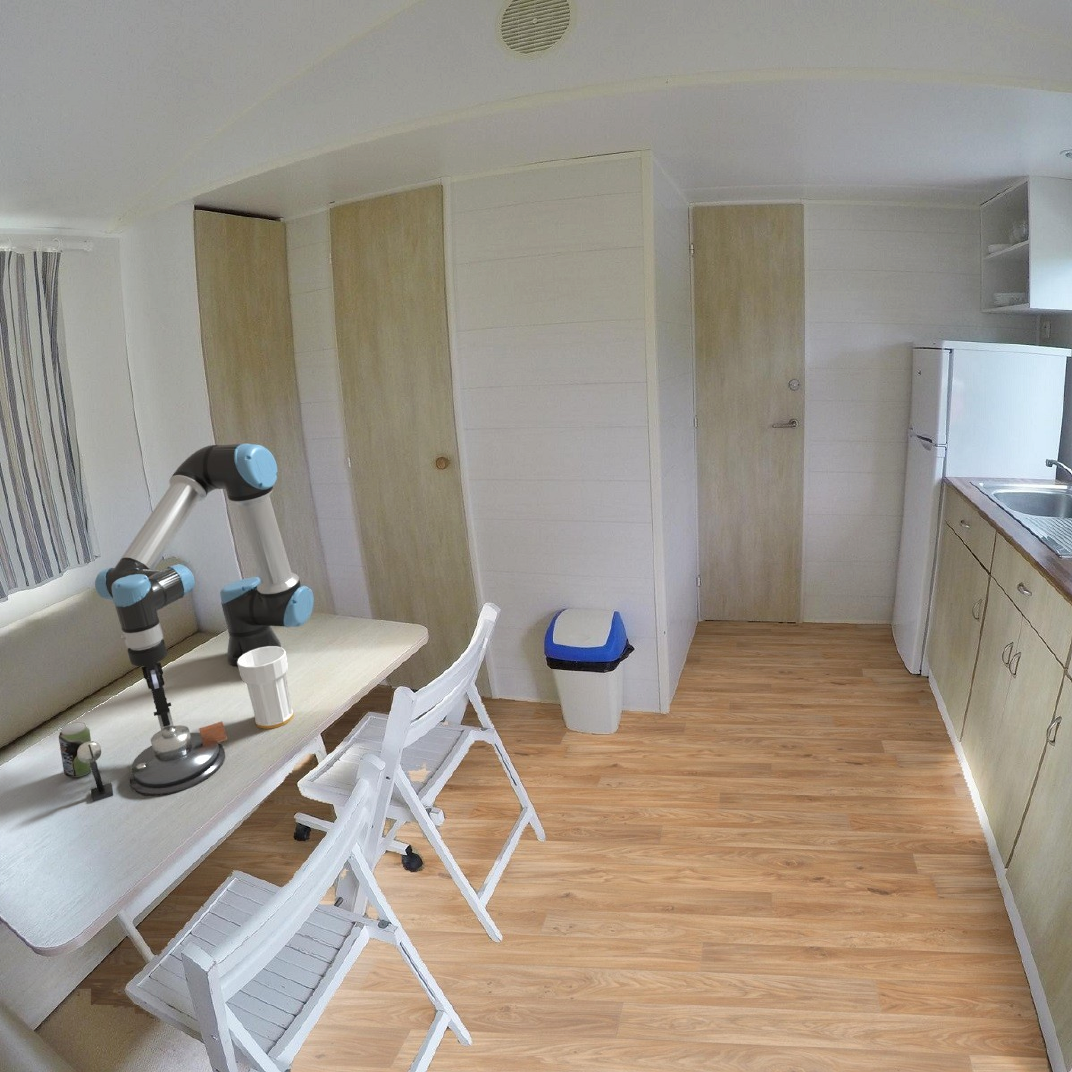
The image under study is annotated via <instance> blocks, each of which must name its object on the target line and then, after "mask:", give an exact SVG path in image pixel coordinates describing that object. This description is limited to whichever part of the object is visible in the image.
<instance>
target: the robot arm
mask: <svg viewBox="0 0 1072 1072" xmlns="http://www.w3.org/2000/svg"><path fill="white" fill-rule="evenodd" d="M278 471H279V470H278V465H277V462H276V459H275V457H274V455H273V454H272V453H271V451H270V450H269V449H267V448H266V447H264V446H263V445H261V444H251V443H237V444H234V443H233V444H212V445H211V444H210V445H207V446H204V447H202V448H200V449H198V450H196V451H194V452H193V453H192V454H191V455H189V456H188V457H187V458H186V459H185V460H184V461H183V462H182V463H181V464H180V465H179V466H178V468H177V469H176V470H175V471H174V472H173V474H172V475H171V476H170V478H169V481H168V483H169V487H168V489H167V490H166V491H165V493H164V495H163V496H162V497H161V499H160V501H159V502H158V504H157V505H156V506H155V508H154V509H153V511H152V512H151V513H150V516H149V517H148V518H147V519H146V521H145V523H144V524H143V526H142V527H141V528H140V530H139V531H138V532H137V534H136V536H135V537H134V539H133V540H132V542H131V543H130V544H129V547H128V548H127V549H126V550H125V552H124V554H123V555H122V556H121V557H120V559H119V561H118V562H117V563H116V565H115V566H114V567H109V568H105V569H103V570H101V571H100V572H98V574H97V575H96V578H95V582H94V588H95V591H96V593H97V594H98V595H99V597H100V598H102V599H105V600H108V601H113V604H114V607H115V610H116V614H117V617H118V621H119V624H120V627H121V631H122V634H121V635H120V639H121V640H124V642H125V647H126V648H127V654H128V657H129V661H130V664H131V665H132V666H135V667H141V670H142V675H143V679H144V680H145V681H146V685H147V688H148V689H149V690H150V692H151V694H152V698H153V703H154V707H155V710H156V711H154V712H153V716H154V717H156V716H157V720H158V723H159V727H160V731H161V730H162V729H163V728H165V727H167V726H175V725H174V721H173V718H172V714H171V710H170V707H172V702H170V701H169V702H167V700H168V699H167V697H166V692H165V690H164V689H165V688H164V686H165V685H166V684H165V679H164V676H163V675H164V671H163V667H162V664H161V661H163V660H164V659H165V658H166V657H167V655H168V652H167V648H166V647H167V646H166V643H165V639H164V633H163V629H162V627H161V626H162V625H161V622H160V619H159V614H158V611H159V610H161V609H163V608H165V607H167V606H168V605H170V604H172V603H174V602H176V601H179V600H180V599H183V598H184V597H185V596H186V595H188V594H189V593H191V592H192V591H193V590H194V588H195V584H196V582H195V576H194V574H193V572H192V571H191V570H190V569H189V568H188V567H187V566H186V565H183V564H178V563H177V564H174V565H170V566H167V567H165V569H155V568H156V567H157V565H159V562H160V561H161V559H162V557H163V556H164V555H165V553H166V551H167V549H168V548H169V547H170V545H171V544H172V542H173V541H174V539H175V538H176V536H177V534H178V532H179V531H180V530H181V528H182V527H183V525H184V523H185V522H186V520H187V519H188V518H189V516H190V514H191V513H192V512H193V510H194V509H195V506H196V505H197V503H198V502H202V501H203V500H205V498H206V497H207V496H208V494H210V493H211V492H212V491H214V490H225V492H226V495H227V498H228V501H230V502H231V503H234V504H236V507H237V510H238V512H239V517H240V520H241V522H242V526H243V529H244V532H245V536H246V539H247V542H248V546H249V548H250V551H251V554H252V558H253V561H254V564H255V567H256V571H257V574H258V577H257V576H252V577H247V578H246V577H245V578H242V579H240V580H239V579H238V580H236V581H233V582H231V583H229V584H227V585H226V586H224V587H223V588H221V590H220V593H219V596H220V603H221V607H222V611H223V615H224V619H225V625H226V627H227V628H226V629H227V632H228V644H227V651H226V657H227V661H228V664H229V665H231V666H234V667H238V665H237V661H238V659H239V658H240V657H241V656H242V655H243V654H245V653H247V652H249V651H251V650H254V649H257V648H261V647H267V646H277V647H281V648H282V646H281V645H282V644H281V641H280V639H279V638H278V636H277V635H276V633H275V631H274V630H273V628H272V627H284V628H286V629H287V628H289V629H290V628H297V627H302V626H304V625H305V624H306V623H307V621H308V620H309V619H310V617H311V614H312V612H313V609H314V602H315V600H314V594H313V593H314V592H313V591H312V589H311V588H309V587H308V586H306V585H302V584H301V581H300V577H299V575H298V574H296V573H294V572H292V569H291V566H290V562H289V559H288V555H287V552H286V549H285V546H284V541H283V537H282V535H281V531H280V528H279V524H278V520H277V518H276V514H275V511H274V507H273V504H272V501H271V500H272V499H271V497H270V496H271V494H272V492H273V491H274V485H275V484H276V482H277V480H278V475H277V474H278V473H279V472H278Z"/></svg>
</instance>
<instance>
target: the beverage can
mask: <svg viewBox="0 0 1072 1072" xmlns="http://www.w3.org/2000/svg"><path fill="white" fill-rule="evenodd" d="M90 731H91V730H90V728H89V727H88V726H87V724H86V723H84V722H82V721H81V722H80V721H79V722H78V721H77V722H76V721H75V722H70V723H67V724H66V725H63V726H62V727H61V729H60V732H59V735H58V741H59V749H60V755H61V761H62V762H61V763H62V768H63V773H64V775H65V776H68V777H70V778H81V777H83V776H86V775H87V774H89V773H90V772H92V769H91V766H90V763H83V762H81V761H80V760H79V759H78V756H77V751H78V748H79V747H80V746H81V745H82V744H83V743H85V742H89V741H92V739H91V738H92V737H91V732H90Z"/></svg>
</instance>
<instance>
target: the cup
mask: <svg viewBox="0 0 1072 1072" xmlns="http://www.w3.org/2000/svg"><path fill="white" fill-rule="evenodd" d="M237 665H238V666H237V668H238V671H239V675H240V676H239V677H240V679H241V680H242V682H243V683H245V684H246V686H247V691H248V694H249V698H250V702H251V706H252V710H253V714H254V717H255V719H254V720H255V721H254V722H255V725H256V727H257V728H260V729H265V730H266V729H267V730H271V729H276V728H280V727H282V726H285V725H286V724H287V723H289V722H290V721H291V720H292V719H293V718H294V710H293V708H292V703H291V698H290V692H289V685H288V679H287V673H288V669H289V664H288V659H287V652H286V649H284V648H283V647H282V646H281V647H277V646H267V647H261V648H257V649H254V650H251V651H249V652H247V653H245V654H243V655H242V656H241V657H240V658H239V659H238V661H237Z"/></svg>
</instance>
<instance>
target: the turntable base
mask: <svg viewBox="0 0 1072 1072" xmlns="http://www.w3.org/2000/svg"><path fill="white" fill-rule="evenodd" d="M218 746H219V750H220V754H219V757H218V759H217V761H216V762H215V763H214V764H213V765H212V766H211V767H210V768H209V769H208V770H206V771H205V772H203V773H202V774H200V775H198V776H196V777H195V778H192V779H190V780H188V781H185V782H183V783H180V784H176V785H172V786H168V787H161V788H149V787H144V786H141V785H139V784H137V783H136V782H135V780H134V777H133V773H132V771H131V772H130V774H129V777H128V781H129V785H130V788H131V789H132V790H133V791H134V792H135V793H136V794H139V795H142V796H148V797H149V796H151V797H157V796H166V795H171V794H175V793H180V792H182V791H185V790H188V789H191V788H193V787H195V786H197V785H199V784H201V783H203V782H205V781H206V780H208V779H210V777H212V776H214V775H215V774H216V773H217V772H218V771H219V770H220V769H221V767H222V766H223V764H224V763H225V760H226V751H225V748H224V746H223V745H222V744H221V743H220V742H218Z"/></svg>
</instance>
